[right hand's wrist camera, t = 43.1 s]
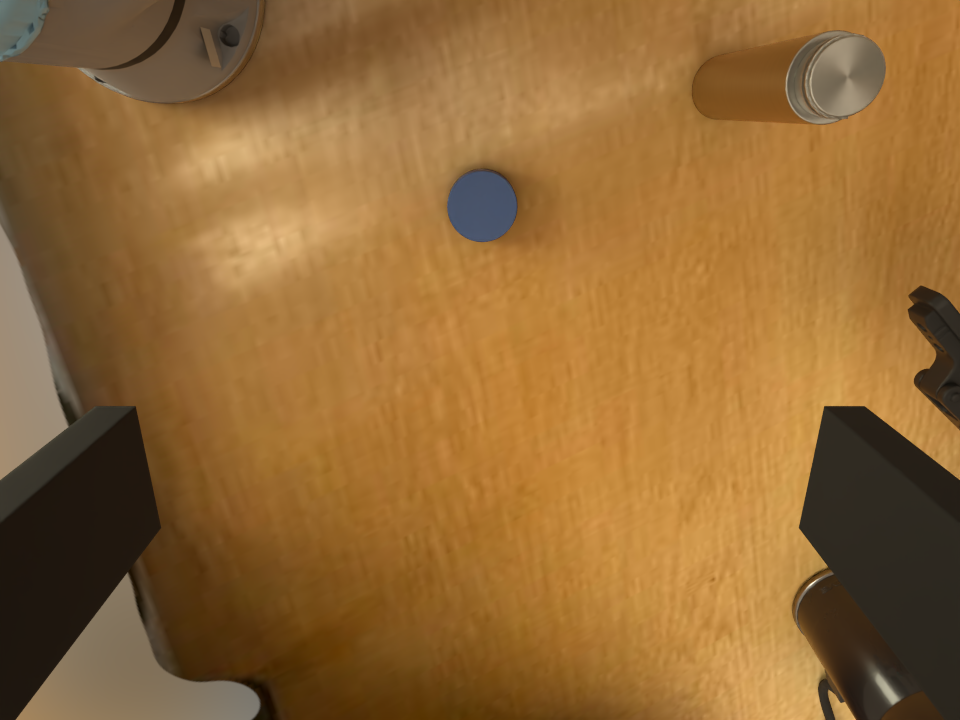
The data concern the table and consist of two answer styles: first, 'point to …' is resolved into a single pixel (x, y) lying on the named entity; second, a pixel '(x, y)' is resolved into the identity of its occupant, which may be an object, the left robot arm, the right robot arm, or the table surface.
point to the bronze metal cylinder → (792, 80)
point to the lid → (482, 205)
